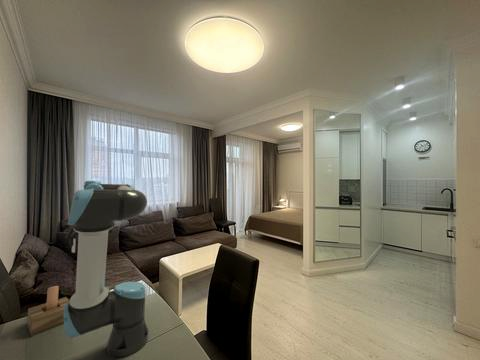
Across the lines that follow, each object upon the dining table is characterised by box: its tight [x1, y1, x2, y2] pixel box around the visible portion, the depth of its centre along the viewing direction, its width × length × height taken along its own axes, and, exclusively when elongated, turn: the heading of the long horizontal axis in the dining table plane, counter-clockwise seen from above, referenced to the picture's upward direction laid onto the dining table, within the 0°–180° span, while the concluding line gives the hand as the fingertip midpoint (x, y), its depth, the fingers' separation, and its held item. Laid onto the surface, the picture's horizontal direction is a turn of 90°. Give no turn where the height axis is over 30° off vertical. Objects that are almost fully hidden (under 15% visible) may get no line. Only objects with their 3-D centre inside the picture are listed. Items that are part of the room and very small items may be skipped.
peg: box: [46, 285, 60, 311], centre depth 96 cm, size 4×4×15 cm
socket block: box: [26, 296, 70, 338], centre depth 95 cm, size 14×14×7 cm
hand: (89, 249), depth 105 cm, fingers open, 13 cm apart
